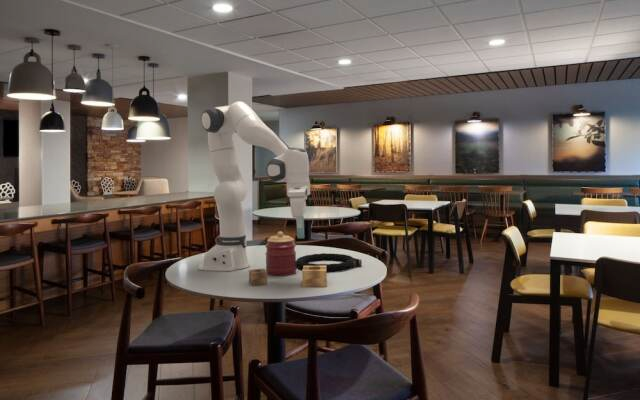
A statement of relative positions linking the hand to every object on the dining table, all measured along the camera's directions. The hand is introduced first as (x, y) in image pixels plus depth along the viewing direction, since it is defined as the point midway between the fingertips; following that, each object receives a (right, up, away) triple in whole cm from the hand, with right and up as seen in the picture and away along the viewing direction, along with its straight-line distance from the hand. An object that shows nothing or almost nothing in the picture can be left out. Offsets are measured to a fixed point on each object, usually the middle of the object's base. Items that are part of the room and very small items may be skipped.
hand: (300, 227), depth 175 cm
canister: (-9, -21, +22) cm, 31 cm away
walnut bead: (-16, -22, +4) cm, 28 cm away
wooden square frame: (+6, -22, +2) cm, 23 cm away
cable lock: (+11, -20, +33) cm, 40 cm away
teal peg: (0, -4, 0) cm, 4 cm away
